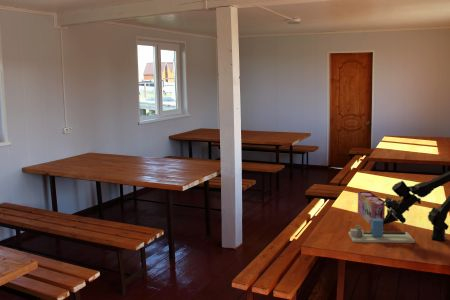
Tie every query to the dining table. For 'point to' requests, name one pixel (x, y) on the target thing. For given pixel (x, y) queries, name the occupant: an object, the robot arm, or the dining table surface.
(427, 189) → the robot arm
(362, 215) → the gum box
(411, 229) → the dining table surface
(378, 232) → the blue block
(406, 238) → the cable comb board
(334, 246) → the dining table surface
